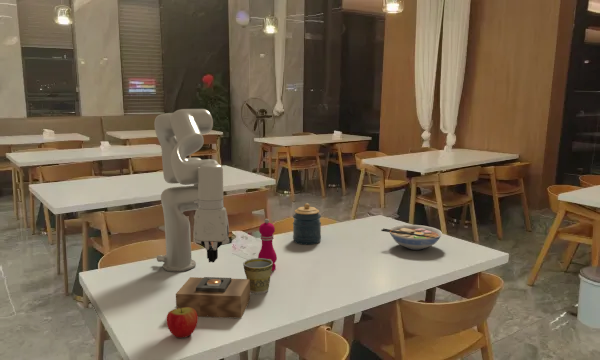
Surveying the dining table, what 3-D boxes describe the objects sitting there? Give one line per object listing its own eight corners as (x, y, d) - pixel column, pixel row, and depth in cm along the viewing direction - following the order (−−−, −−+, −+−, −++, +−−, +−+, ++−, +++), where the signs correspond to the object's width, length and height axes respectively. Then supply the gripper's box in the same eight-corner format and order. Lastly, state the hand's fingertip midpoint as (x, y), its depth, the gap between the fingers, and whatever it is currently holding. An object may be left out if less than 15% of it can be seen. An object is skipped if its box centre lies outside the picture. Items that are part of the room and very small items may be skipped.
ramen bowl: (450, 245, 221) (451, 227, 219) (434, 259, 202) (435, 240, 200) (397, 237, 234) (397, 220, 233) (377, 249, 215) (378, 231, 214)
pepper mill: (274, 273, 187) (273, 221, 184) (255, 271, 189) (254, 220, 185) (278, 266, 194) (278, 217, 191) (261, 265, 195) (260, 216, 192)
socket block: (176, 315, 151) (175, 290, 150) (191, 297, 165) (190, 273, 163) (241, 318, 149) (240, 292, 148) (250, 299, 163) (249, 275, 162)
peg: (206, 308, 155) (205, 283, 154) (209, 302, 159) (209, 278, 158) (219, 308, 155) (219, 284, 153) (223, 303, 159) (222, 279, 158)
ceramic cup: (261, 298, 164) (261, 269, 162) (237, 292, 169) (237, 264, 167) (283, 286, 174) (283, 258, 173) (260, 280, 180) (260, 254, 178)
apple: (161, 339, 136) (159, 305, 135) (179, 326, 144) (177, 293, 142) (186, 344, 133) (185, 309, 132) (203, 331, 141) (202, 297, 140)
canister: (295, 236, 236) (294, 200, 233) (322, 237, 234) (322, 200, 231) (290, 244, 223) (290, 206, 220) (319, 245, 221) (319, 207, 218)
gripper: (183, 206, 149) (185, 264, 152) (232, 207, 147) (233, 266, 151) (191, 200, 156) (192, 255, 160) (237, 201, 155) (238, 257, 158)
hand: (212, 260), depth 155 cm, fingers closed
